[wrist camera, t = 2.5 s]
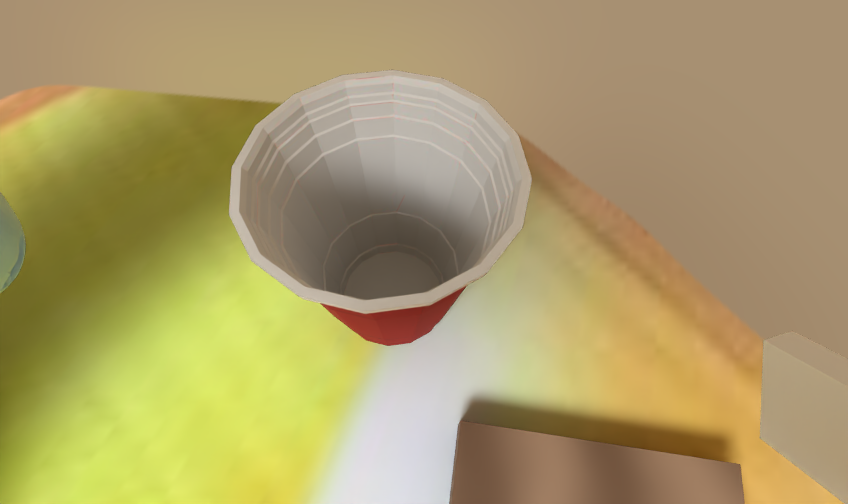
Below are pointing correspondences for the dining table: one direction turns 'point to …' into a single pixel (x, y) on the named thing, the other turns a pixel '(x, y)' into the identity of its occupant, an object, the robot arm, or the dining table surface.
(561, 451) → the walnut coaster board
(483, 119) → the plastic cup
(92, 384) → the dining table surface
